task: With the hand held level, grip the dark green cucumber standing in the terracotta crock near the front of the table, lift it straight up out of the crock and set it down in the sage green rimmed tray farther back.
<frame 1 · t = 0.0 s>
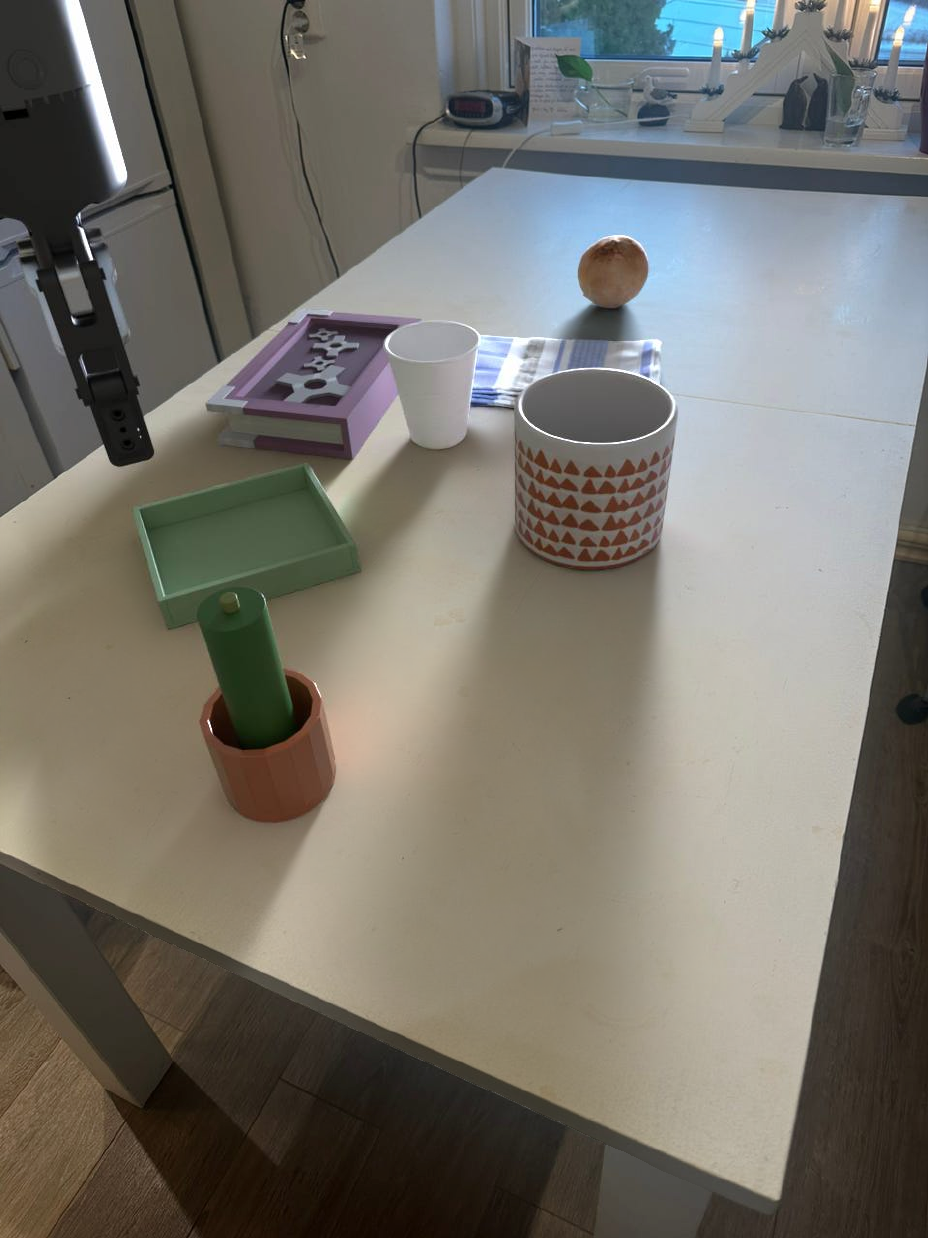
hand: (122, 423, 47), 26 cm above the table, tool pointing down, fingers open, 8 cm apart
dish towel: (561, 382, 104), on the table
planter: (587, 528, 82), on the table
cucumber: (278, 769, 61), point 1 cm above the table, touching crock
crock: (280, 776, 61), on the table
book: (328, 398, 104), on the table
onion: (610, 304, 121), on the table
cup: (438, 438, 96), on the table
tray: (247, 552, 81), on the table
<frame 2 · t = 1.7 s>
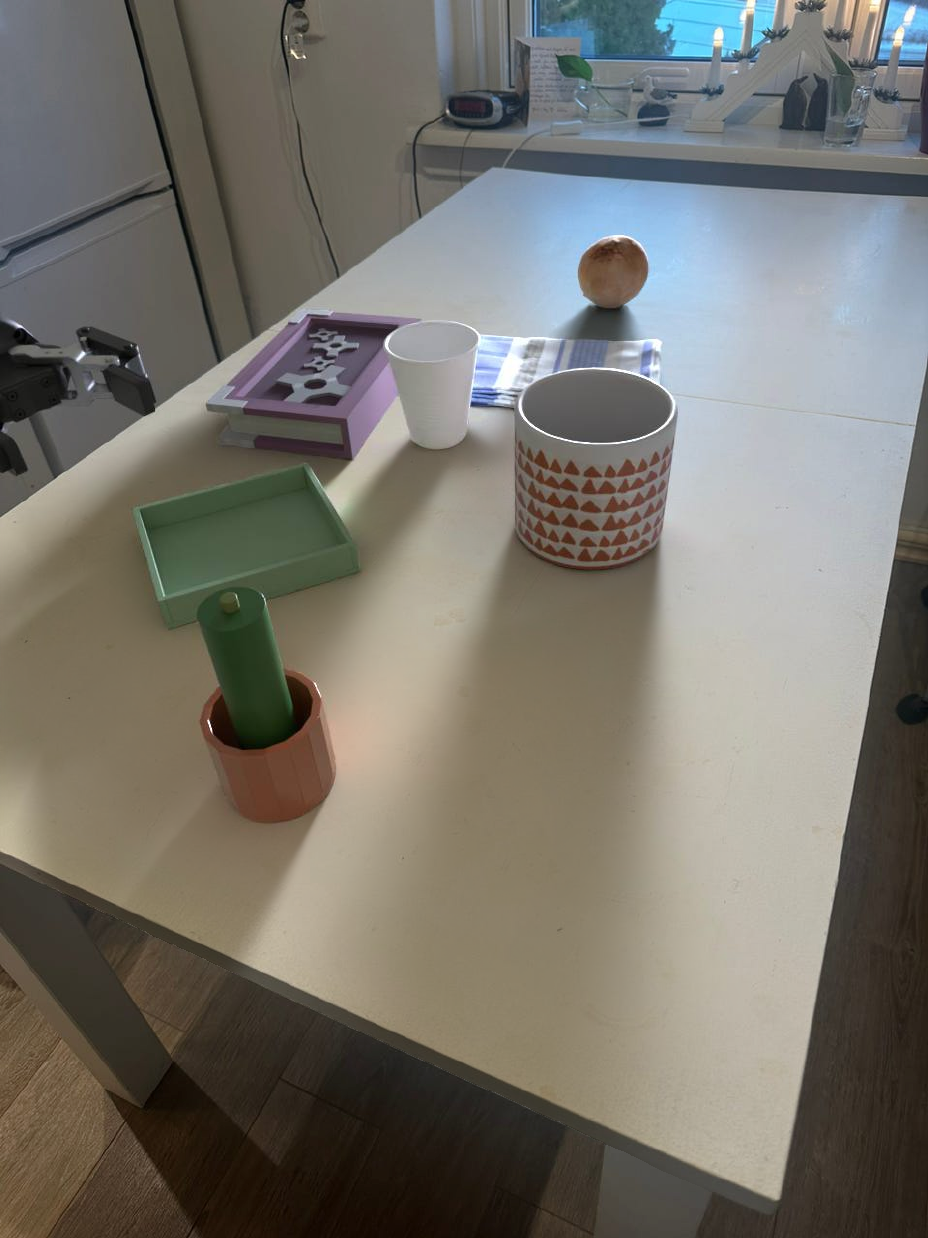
hand: (85, 428, 51), 24 cm above the table, tool horizontal, fingers open, 8 cm apart
nothing on the table moved.
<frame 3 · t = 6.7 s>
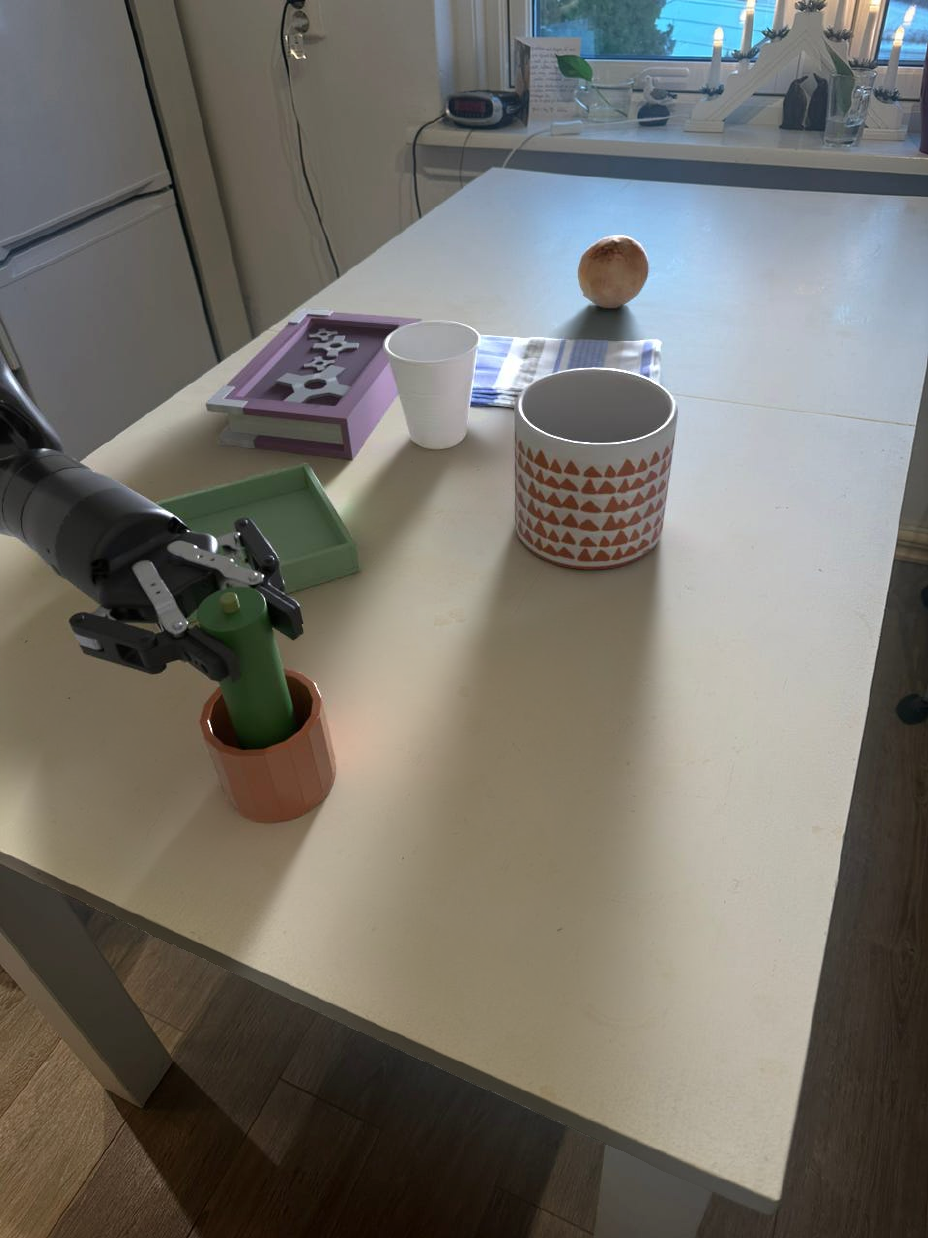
hand: (266, 646, 51), 14 cm above the table, tool horizontal, fingers closed on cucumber, 4 cm apart
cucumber: (278, 769, 61), point 1 cm above the table, touching crock, gripper
everything else where it was.
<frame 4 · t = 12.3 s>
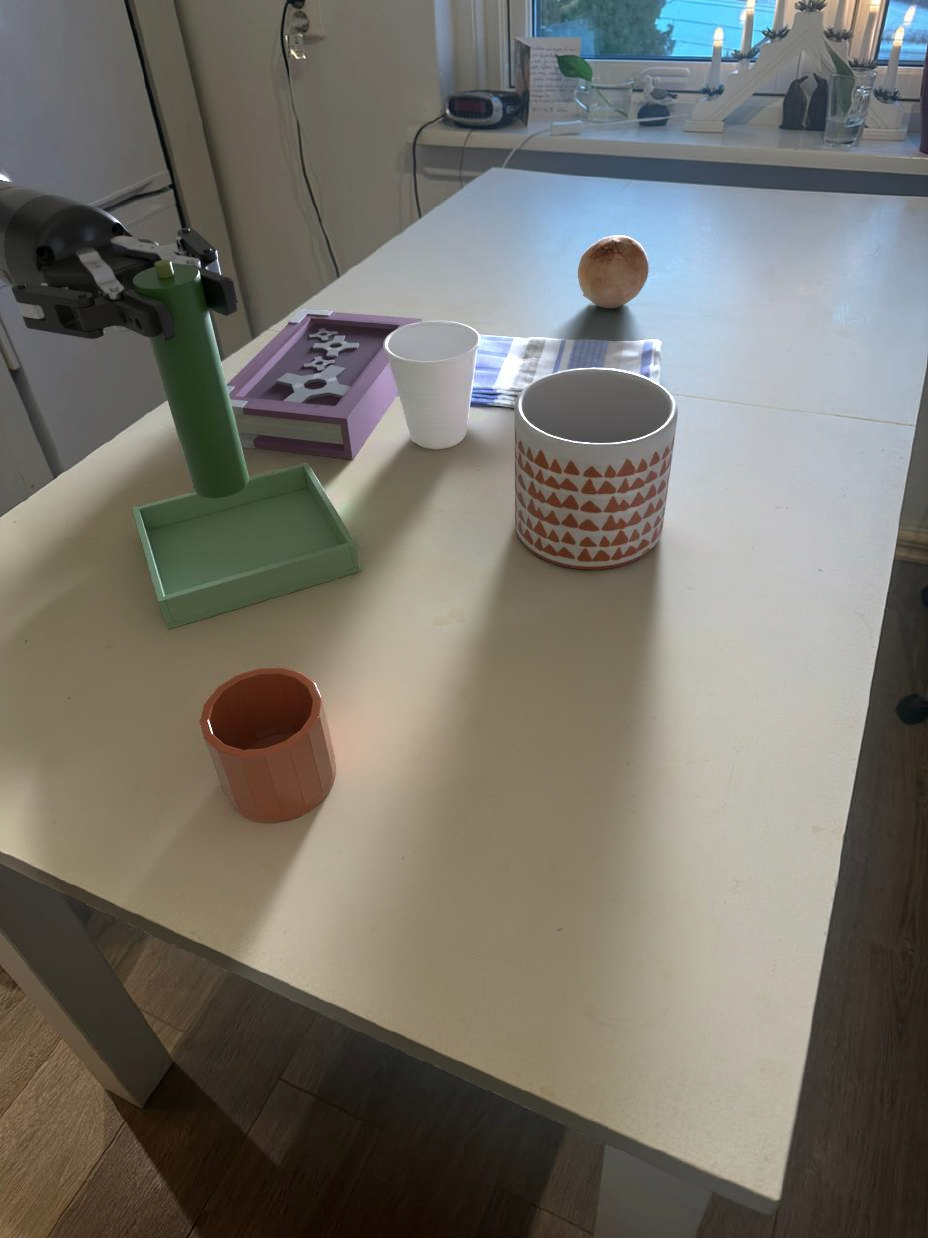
hand: (198, 310, 53), 28 cm above the table, tool horizontal, fingers closed on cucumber, 4 cm apart
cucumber: (221, 482, 63), point 15 cm above the table, touching gripper
everything else where it was.
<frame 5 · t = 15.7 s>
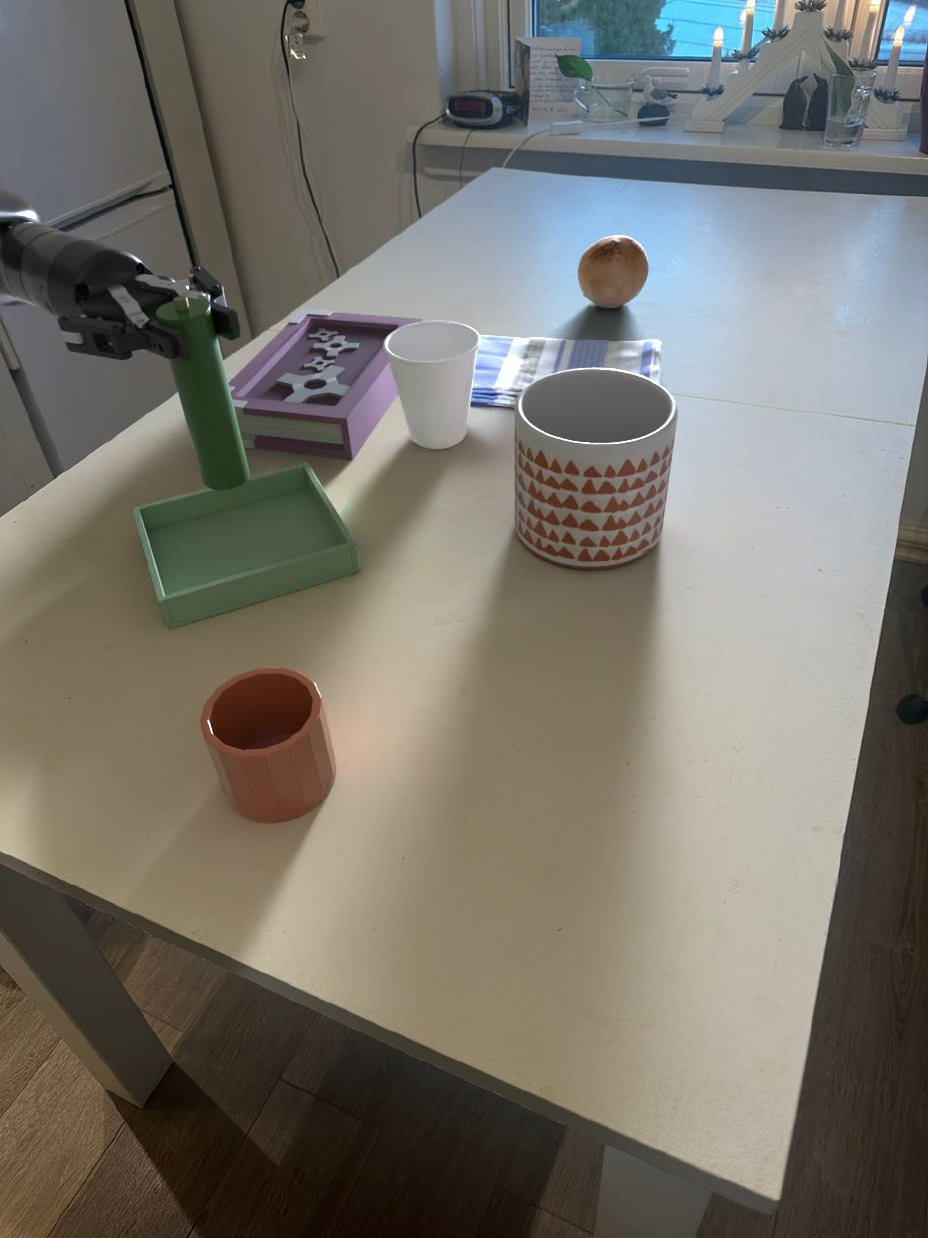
hand: (209, 336, 65), 22 cm above the table, tool horizontal, fingers closed on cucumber, 4 cm apart
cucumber: (226, 477, 76), point 8 cm above the table, touching gripper
everything else where it was.
when the fingers open (14 cm above the table, at t = 18.2 s): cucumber stays where it is, resting on tray.
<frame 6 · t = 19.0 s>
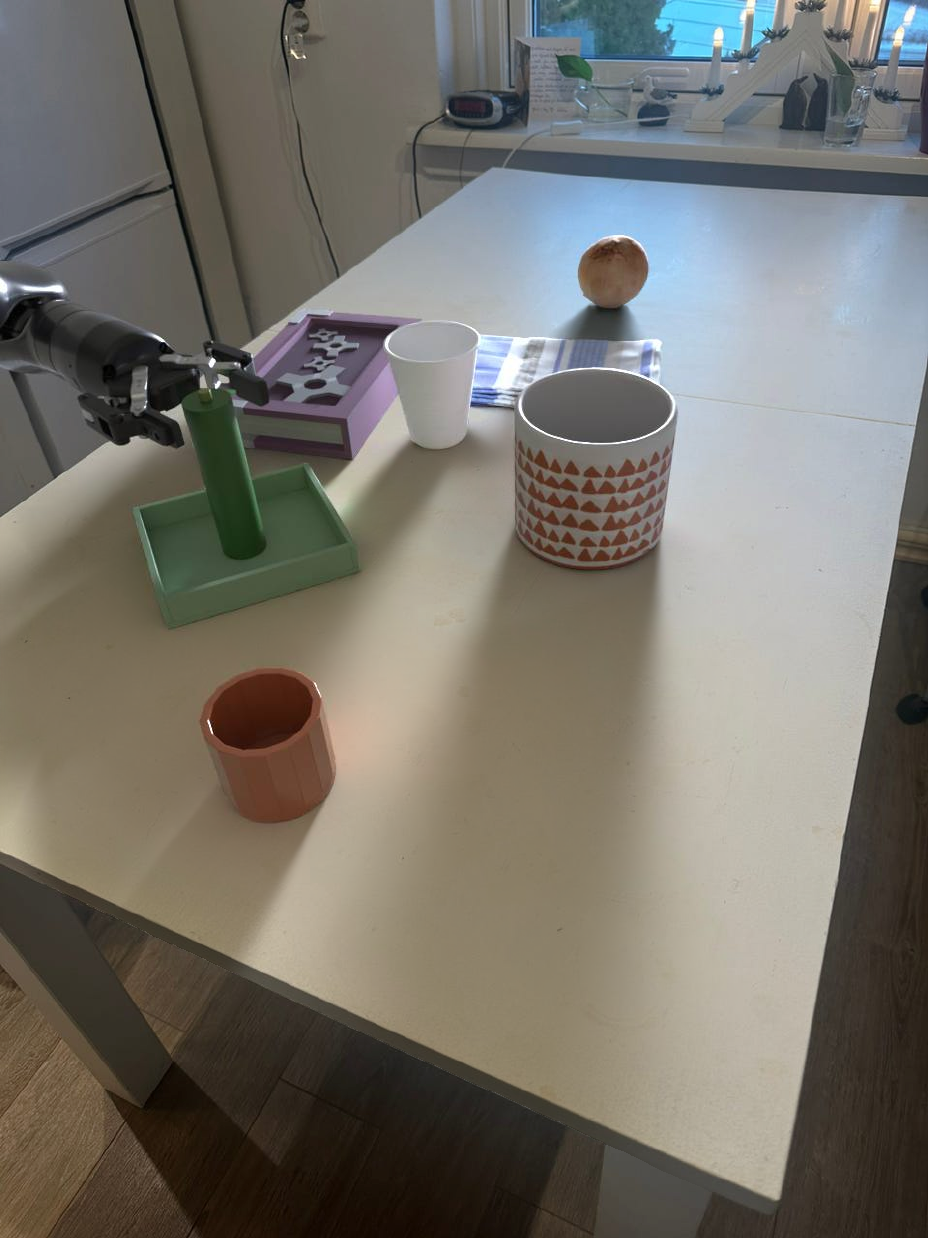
hand: (223, 414, 70), 15 cm above the table, tool horizontal, fingers open, 8 cm apart
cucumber: (244, 546, 81), point 1 cm above the table, touching tray
everything else where it was.
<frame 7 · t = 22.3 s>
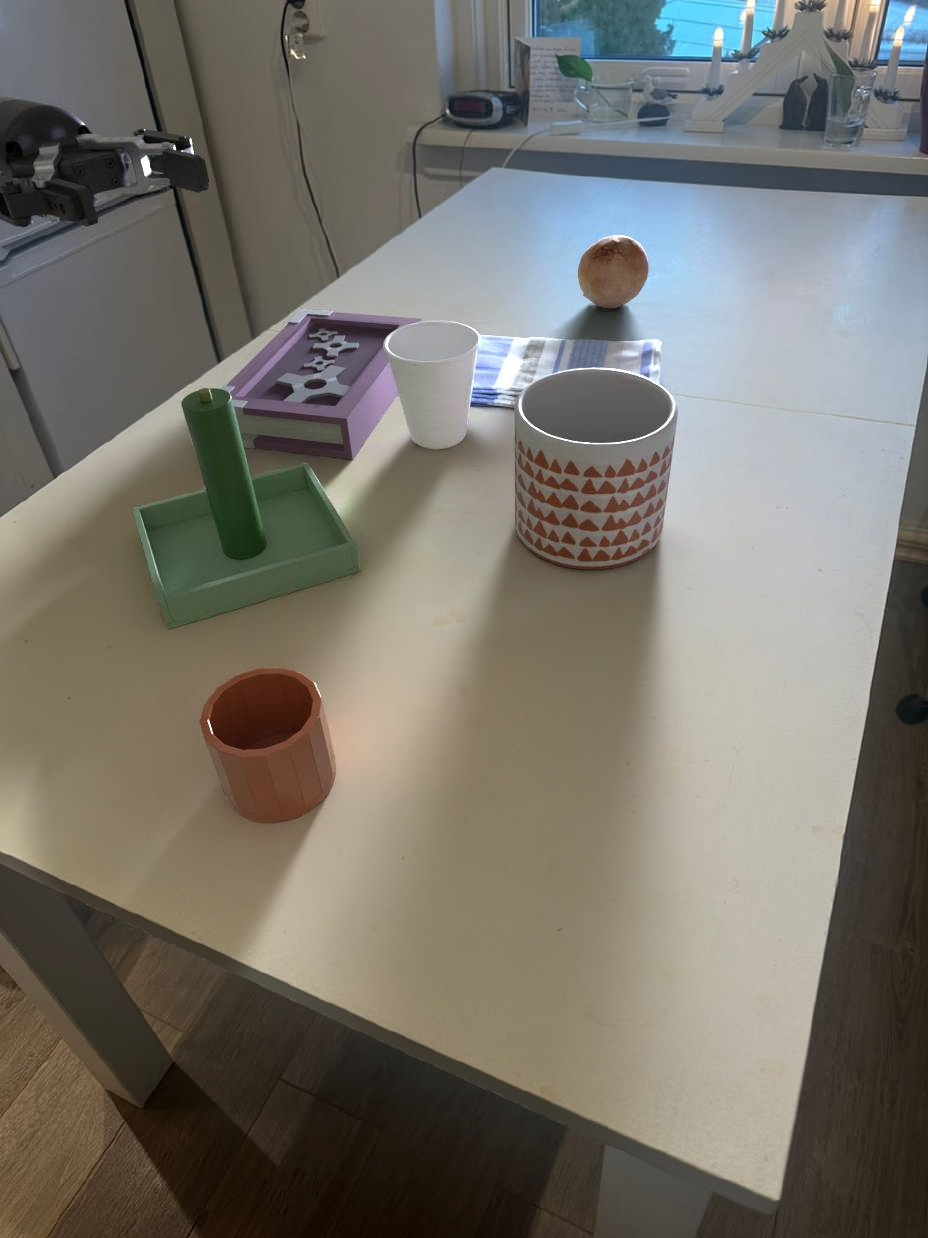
hand: (148, 190, 57), 32 cm above the table, tool horizontal, fingers open, 8 cm apart
nothing on the table moved.
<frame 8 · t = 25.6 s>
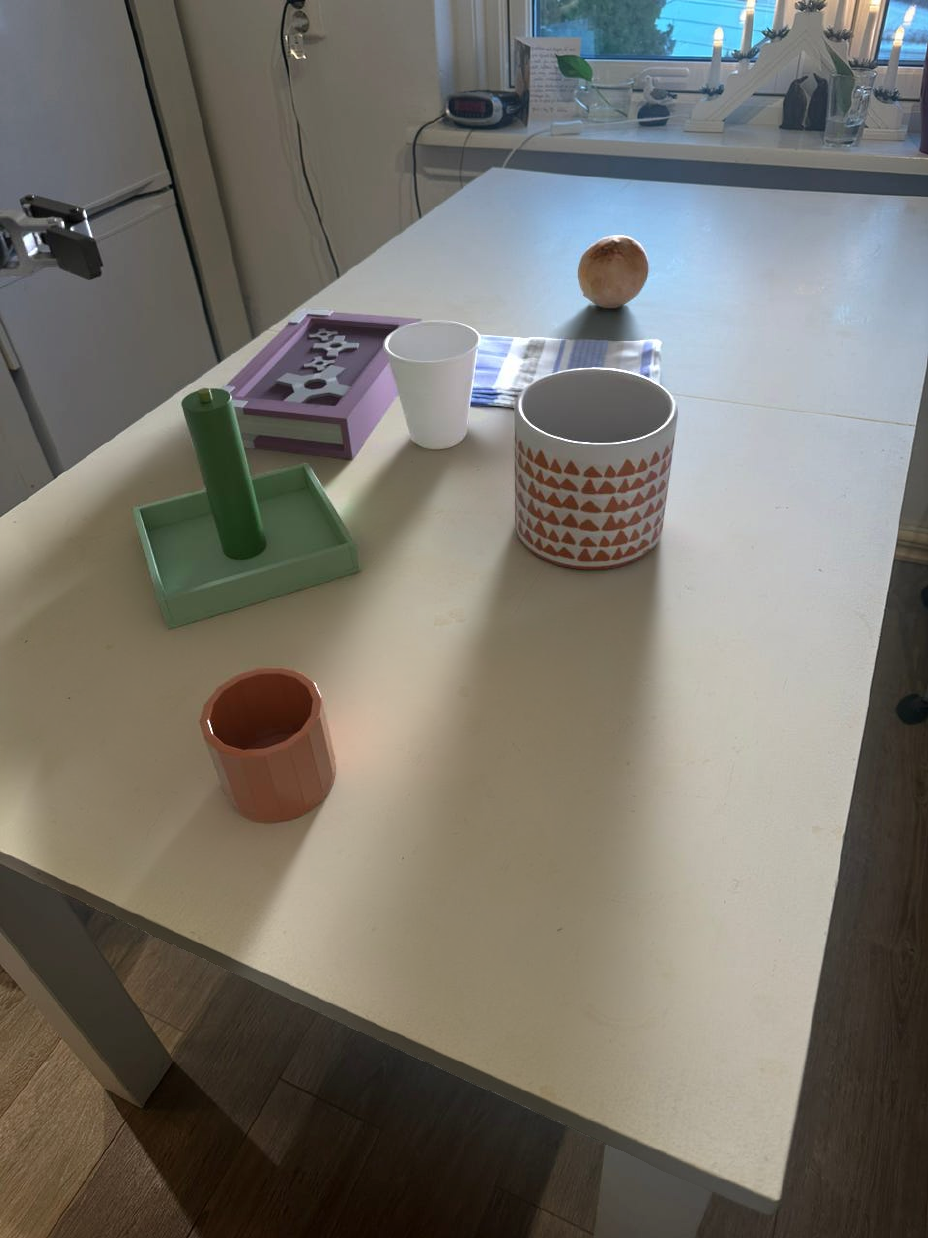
hand: (21, 283, 47), 32 cm above the table, tool horizontal, fingers open, 8 cm apart
nothing on the table moved.
at the end: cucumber inside the target area in the tray (0.1 cm from its centre), point 0.6 cm above the tray's base; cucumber touching tray; the gripper is holding nothing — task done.
